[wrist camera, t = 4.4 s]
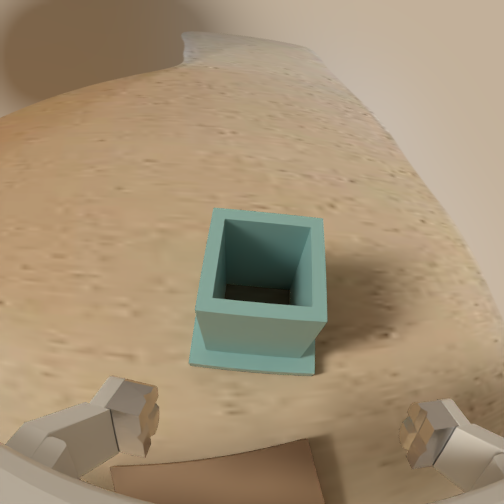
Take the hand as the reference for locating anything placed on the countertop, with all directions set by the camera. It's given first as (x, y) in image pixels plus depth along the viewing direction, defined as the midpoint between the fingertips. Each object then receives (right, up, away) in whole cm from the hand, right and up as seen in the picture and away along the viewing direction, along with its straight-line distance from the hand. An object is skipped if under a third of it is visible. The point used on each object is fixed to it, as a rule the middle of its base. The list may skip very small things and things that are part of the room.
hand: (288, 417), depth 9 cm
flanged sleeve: (-1, +1, +13) cm, 13 cm away
